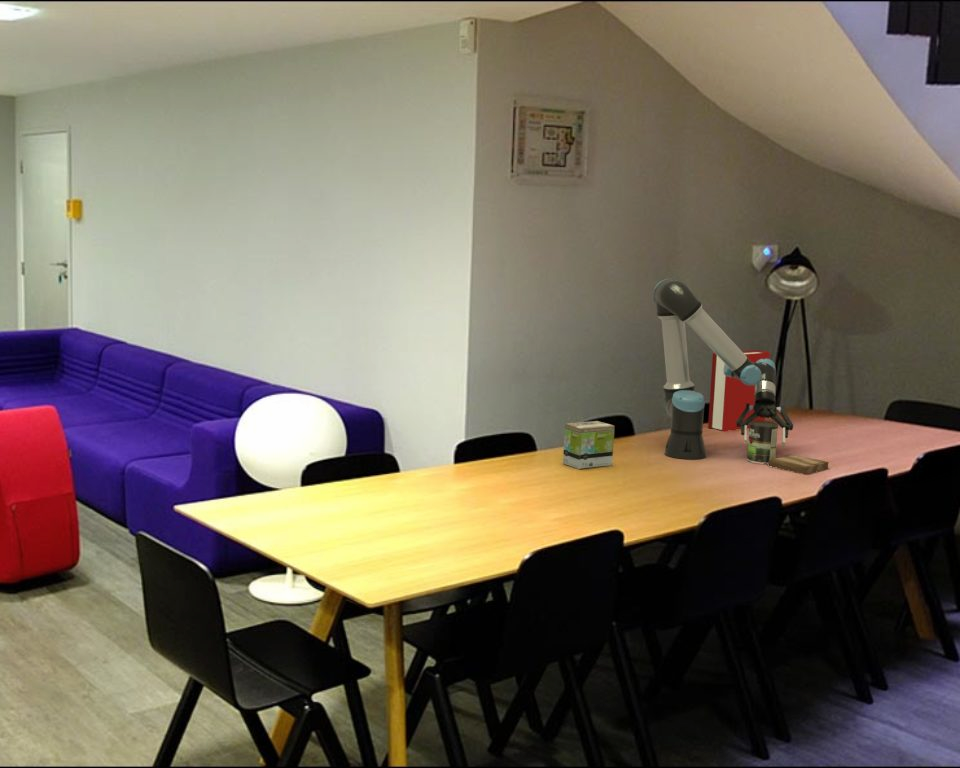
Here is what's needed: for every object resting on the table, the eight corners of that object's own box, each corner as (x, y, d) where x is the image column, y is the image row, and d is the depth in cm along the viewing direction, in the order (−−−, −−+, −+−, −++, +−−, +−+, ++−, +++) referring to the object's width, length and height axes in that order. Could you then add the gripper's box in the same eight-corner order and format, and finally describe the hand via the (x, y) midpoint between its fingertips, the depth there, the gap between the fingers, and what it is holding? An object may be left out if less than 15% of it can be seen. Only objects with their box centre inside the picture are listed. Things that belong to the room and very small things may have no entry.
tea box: (579, 470, 374) (581, 428, 372) (562, 464, 383) (563, 423, 380) (613, 465, 383) (615, 424, 380) (595, 459, 391) (597, 419, 389)
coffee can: (757, 465, 390) (760, 426, 388) (741, 458, 400) (743, 421, 397) (781, 463, 394) (784, 425, 392) (764, 457, 403) (767, 420, 401)
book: (722, 431, 450) (727, 355, 445) (707, 428, 456) (712, 353, 451) (766, 426, 465) (772, 352, 460) (752, 422, 472) (757, 350, 467)
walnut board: (805, 474, 377) (806, 467, 377) (768, 466, 388) (768, 459, 388) (827, 468, 388) (828, 461, 387) (790, 461, 398) (791, 453, 398)
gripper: (798, 403, 407) (798, 451, 395) (730, 399, 412) (728, 446, 400) (800, 392, 401) (801, 439, 389) (731, 388, 406) (729, 435, 394)
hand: (764, 443), depth 395 cm, fingers open, 13 cm apart
